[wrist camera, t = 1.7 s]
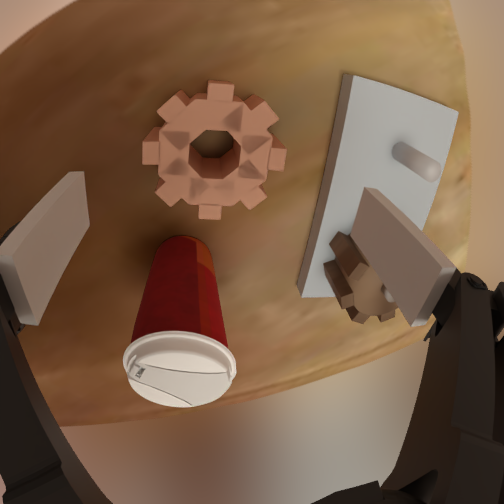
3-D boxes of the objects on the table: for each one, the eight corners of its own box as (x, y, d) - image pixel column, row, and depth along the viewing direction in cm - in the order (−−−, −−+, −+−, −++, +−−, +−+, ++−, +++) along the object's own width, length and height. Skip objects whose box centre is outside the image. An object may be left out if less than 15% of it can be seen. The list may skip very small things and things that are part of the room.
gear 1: (153, 190, 26) (143, 217, 22) (156, 78, 21) (144, 81, 16) (263, 194, 28) (274, 221, 23) (279, 87, 22) (296, 92, 18)
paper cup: (133, 273, 30) (109, 393, 19) (163, 212, 27) (140, 332, 16) (202, 299, 33) (208, 418, 22) (238, 245, 30) (262, 367, 19)
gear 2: (314, 291, 32) (333, 336, 27) (338, 209, 27) (368, 247, 22) (388, 289, 34) (412, 327, 29) (418, 217, 29) (452, 250, 24)
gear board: (296, 285, 34) (314, 332, 28) (343, 73, 22) (386, 80, 16) (387, 283, 36) (413, 323, 30) (446, 107, 24) (494, 126, 19)
